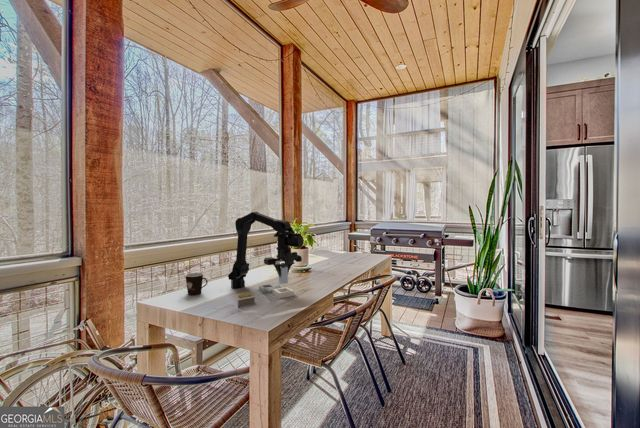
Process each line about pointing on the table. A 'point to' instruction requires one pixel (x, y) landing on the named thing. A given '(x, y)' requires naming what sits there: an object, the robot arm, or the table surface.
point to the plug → (283, 274)
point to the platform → (245, 298)
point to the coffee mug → (194, 283)
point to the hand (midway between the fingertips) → (283, 276)
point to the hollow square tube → (266, 288)
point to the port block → (283, 292)
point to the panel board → (272, 296)
